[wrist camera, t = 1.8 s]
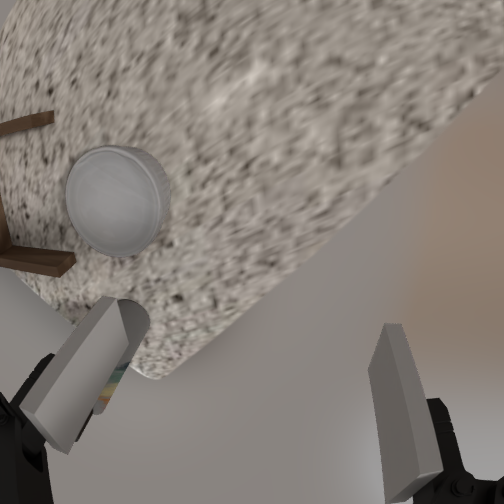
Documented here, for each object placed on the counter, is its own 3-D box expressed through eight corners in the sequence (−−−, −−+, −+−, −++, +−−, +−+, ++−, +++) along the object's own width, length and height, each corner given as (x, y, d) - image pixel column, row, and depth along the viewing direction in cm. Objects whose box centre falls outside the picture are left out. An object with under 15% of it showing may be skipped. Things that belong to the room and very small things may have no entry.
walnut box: (-14, 129, 30) (-34, 135, 26) (53, 110, 28) (30, 114, 25) (9, 253, 39) (-6, 265, 36) (76, 262, 38) (59, 277, 34)
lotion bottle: (106, 306, 40) (29, 415, 23) (132, 292, 38) (50, 414, 21) (132, 335, 42) (68, 448, 24) (159, 325, 40) (95, 450, 23)
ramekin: (171, 129, 29) (149, 136, 24) (188, 233, 34) (172, 256, 29) (83, 148, 30) (54, 159, 26) (104, 238, 35) (81, 259, 31)
